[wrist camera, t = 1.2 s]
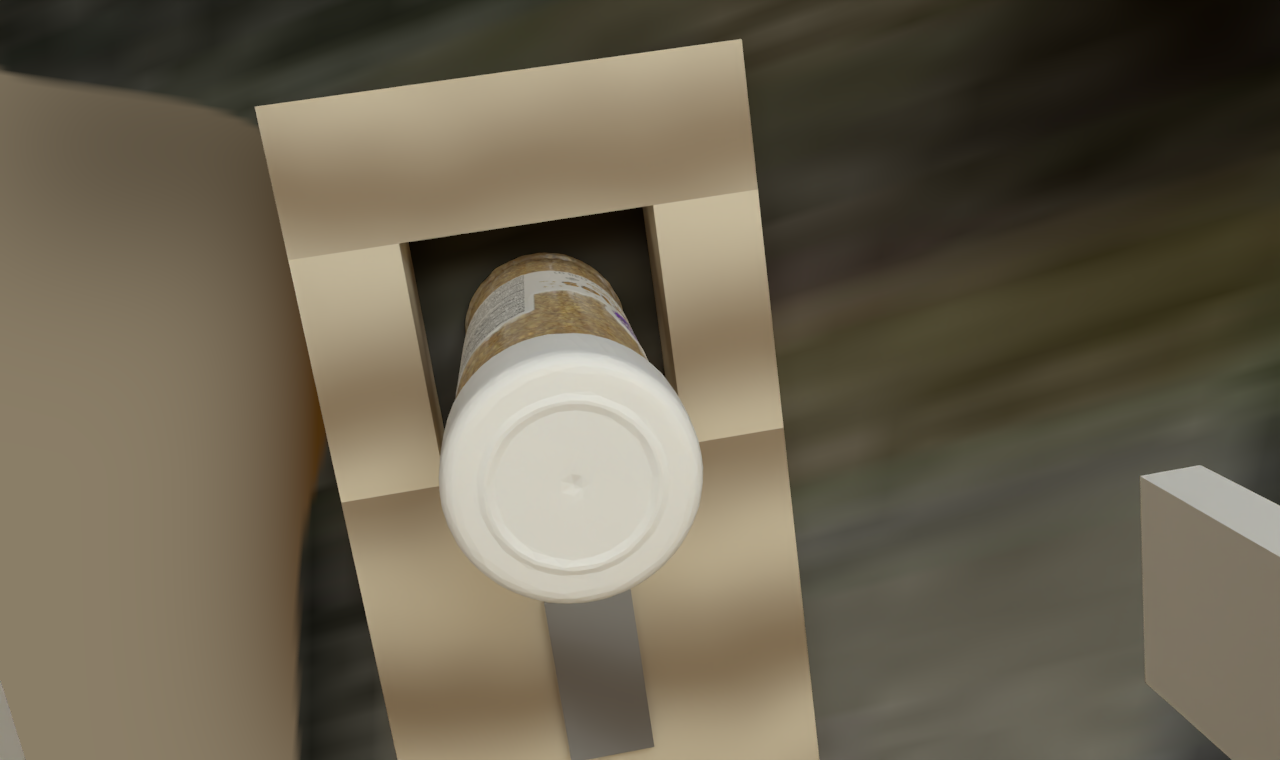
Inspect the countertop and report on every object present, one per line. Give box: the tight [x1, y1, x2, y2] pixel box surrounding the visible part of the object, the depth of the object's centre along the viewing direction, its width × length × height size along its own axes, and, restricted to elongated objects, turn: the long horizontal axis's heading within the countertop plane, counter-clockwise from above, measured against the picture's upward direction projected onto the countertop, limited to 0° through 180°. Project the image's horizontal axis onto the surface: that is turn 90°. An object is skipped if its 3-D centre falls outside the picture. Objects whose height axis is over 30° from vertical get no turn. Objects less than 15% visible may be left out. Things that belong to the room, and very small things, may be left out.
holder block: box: [255, 39, 819, 760], centre depth 31 cm, size 22×12×3 cm, turn 8°
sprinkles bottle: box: [439, 253, 703, 604], centre depth 25 cm, size 5×5×14 cm
